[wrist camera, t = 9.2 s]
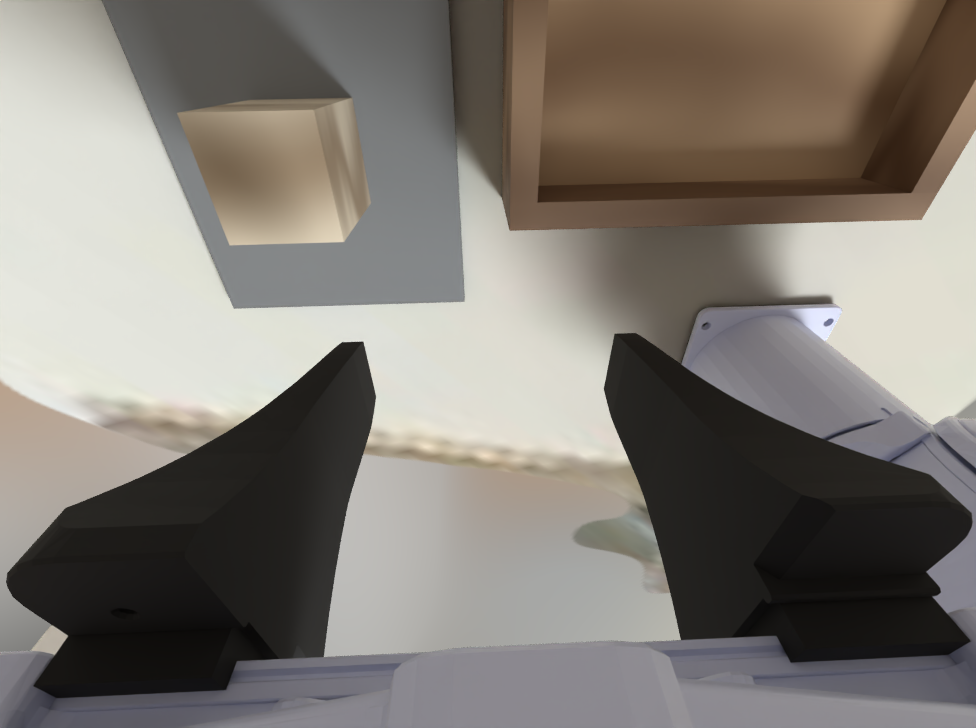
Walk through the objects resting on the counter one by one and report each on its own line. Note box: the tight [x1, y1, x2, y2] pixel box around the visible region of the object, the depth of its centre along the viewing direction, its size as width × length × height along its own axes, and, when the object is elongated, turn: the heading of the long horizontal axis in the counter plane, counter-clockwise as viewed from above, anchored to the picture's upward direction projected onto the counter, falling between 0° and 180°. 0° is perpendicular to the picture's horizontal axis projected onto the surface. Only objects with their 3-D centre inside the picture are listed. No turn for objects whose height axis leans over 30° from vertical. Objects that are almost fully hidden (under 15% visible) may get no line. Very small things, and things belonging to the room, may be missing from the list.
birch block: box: [177, 98, 371, 245], centre depth 15 cm, size 4×4×5 cm
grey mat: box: [102, 0, 465, 308], centre depth 18 cm, size 14×12×1 cm
